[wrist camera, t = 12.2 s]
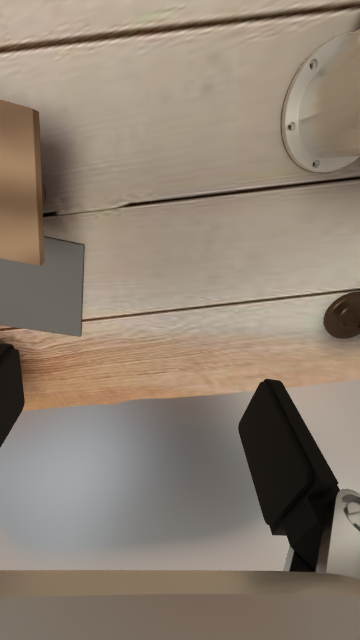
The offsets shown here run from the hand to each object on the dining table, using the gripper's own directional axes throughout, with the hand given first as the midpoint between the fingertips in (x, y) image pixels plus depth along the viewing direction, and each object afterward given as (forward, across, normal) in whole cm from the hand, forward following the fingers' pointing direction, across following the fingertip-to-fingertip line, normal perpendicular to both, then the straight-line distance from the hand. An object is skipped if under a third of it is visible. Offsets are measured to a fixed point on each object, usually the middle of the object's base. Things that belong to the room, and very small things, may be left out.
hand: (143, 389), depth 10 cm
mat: (+30, +18, +12) cm, 37 cm away
